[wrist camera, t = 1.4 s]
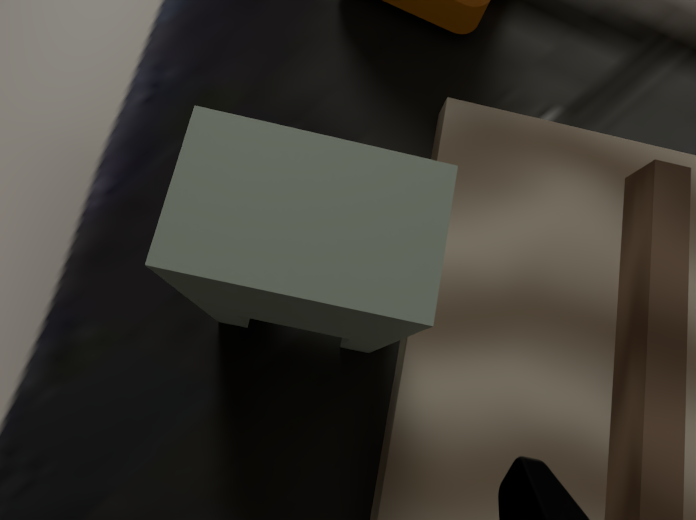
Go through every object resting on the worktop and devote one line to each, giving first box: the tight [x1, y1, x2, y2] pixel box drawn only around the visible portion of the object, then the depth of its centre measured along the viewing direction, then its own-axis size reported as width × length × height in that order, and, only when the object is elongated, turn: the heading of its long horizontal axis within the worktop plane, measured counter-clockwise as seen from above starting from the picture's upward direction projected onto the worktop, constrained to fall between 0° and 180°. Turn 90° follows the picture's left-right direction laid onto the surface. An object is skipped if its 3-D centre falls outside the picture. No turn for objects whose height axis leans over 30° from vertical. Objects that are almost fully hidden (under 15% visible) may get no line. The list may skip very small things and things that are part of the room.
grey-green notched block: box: [145, 106, 458, 353], centre depth 17 cm, size 4×6×10 cm, turn 79°
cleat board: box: [370, 97, 696, 520], centre depth 21 cm, size 20×19×4 cm
